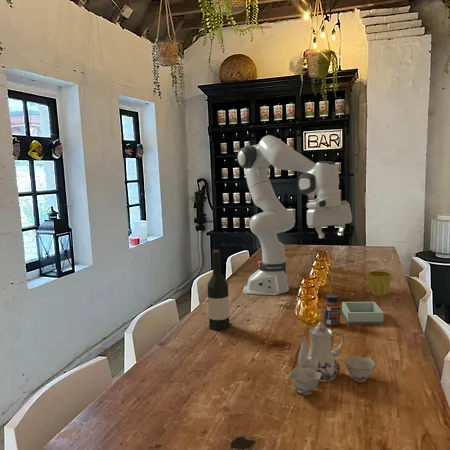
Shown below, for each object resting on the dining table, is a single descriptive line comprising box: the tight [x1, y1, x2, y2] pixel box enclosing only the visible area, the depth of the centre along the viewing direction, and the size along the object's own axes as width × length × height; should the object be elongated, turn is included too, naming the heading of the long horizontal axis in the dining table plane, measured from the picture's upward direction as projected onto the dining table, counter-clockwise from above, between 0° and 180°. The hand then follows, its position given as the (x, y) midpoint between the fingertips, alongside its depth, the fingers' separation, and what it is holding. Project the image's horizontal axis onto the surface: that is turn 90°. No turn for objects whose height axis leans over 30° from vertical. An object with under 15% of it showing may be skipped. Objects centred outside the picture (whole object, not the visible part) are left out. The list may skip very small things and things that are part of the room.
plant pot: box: [367, 270, 392, 297], centre depth 196 cm, size 10×10×10 cm
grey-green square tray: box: [341, 301, 384, 325], centre depth 167 cm, size 13×13×4 cm
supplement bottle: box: [323, 293, 341, 328], centre depth 162 cm, size 6×6×11 cm
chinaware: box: [283, 321, 377, 396], centre depth 120 cm, size 28×17×17 cm, turn 114°
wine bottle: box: [207, 249, 231, 332], centre depth 163 cm, size 8×8×30 cm
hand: (331, 237), depth 168 cm, fingers open, 8 cm apart
